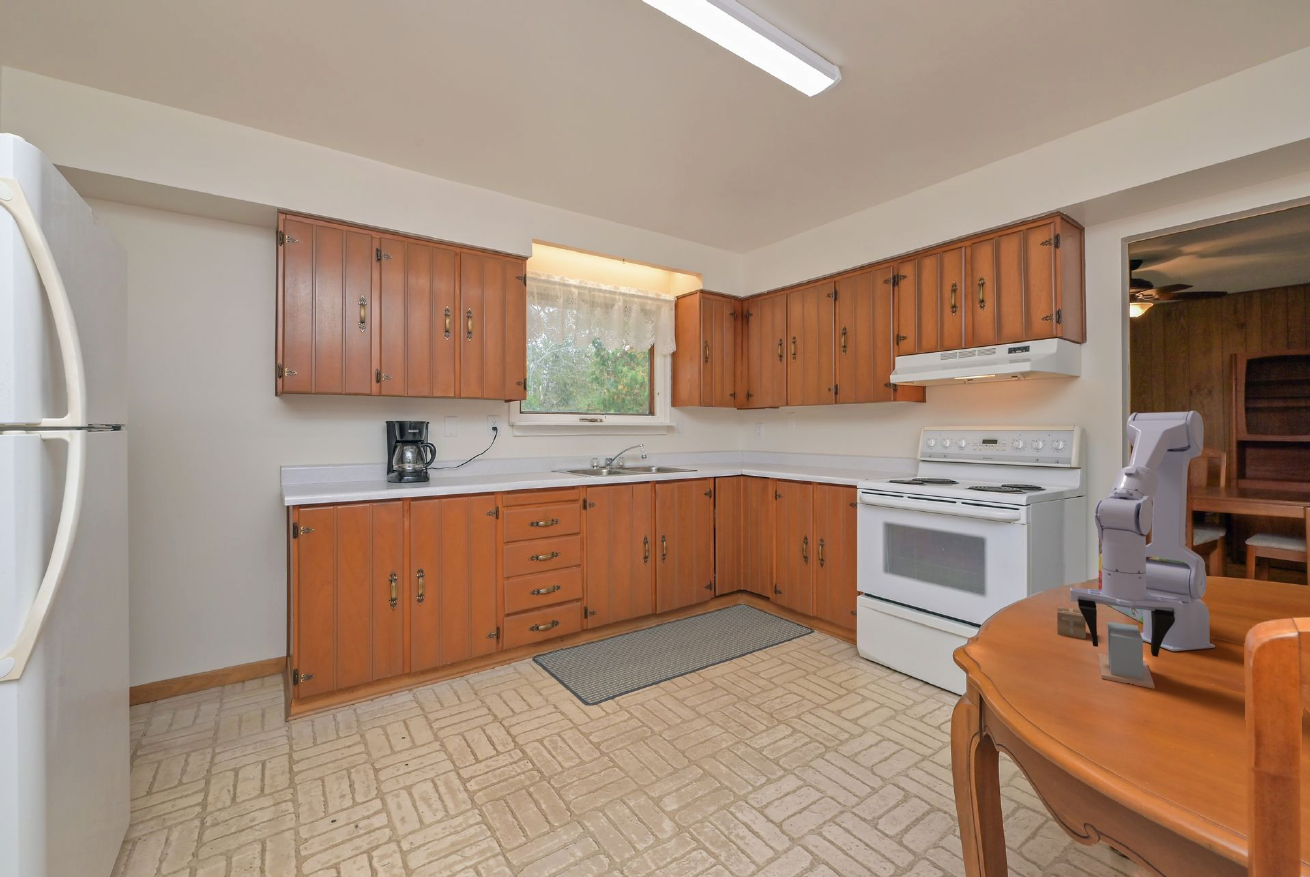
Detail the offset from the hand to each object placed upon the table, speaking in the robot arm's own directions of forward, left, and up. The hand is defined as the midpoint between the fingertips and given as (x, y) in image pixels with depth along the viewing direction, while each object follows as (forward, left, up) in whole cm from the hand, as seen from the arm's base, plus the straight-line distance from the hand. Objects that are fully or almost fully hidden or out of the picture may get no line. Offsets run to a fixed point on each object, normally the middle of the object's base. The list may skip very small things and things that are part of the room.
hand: (1124, 649), depth 94 cm
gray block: (0, 0, -3) cm, 3 cm away
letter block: (-7, -17, -4) cm, 19 cm away
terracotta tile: (0, 0, -4) cm, 4 cm away
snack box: (-30, -23, -4) cm, 38 cm away
